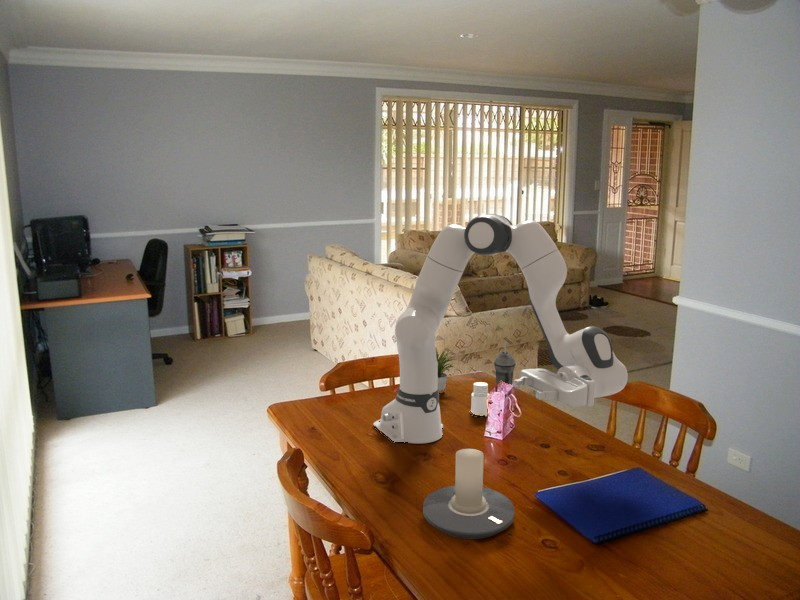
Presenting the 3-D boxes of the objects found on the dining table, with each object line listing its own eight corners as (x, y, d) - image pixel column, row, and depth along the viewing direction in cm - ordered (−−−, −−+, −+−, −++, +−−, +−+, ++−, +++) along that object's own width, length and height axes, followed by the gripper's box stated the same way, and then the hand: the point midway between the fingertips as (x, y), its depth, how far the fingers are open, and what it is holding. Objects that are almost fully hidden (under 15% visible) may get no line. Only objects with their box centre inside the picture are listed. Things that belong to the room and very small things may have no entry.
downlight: (492, 418, 205) (493, 387, 204) (470, 418, 205) (470, 387, 204) (489, 410, 213) (490, 380, 212) (468, 410, 213) (468, 380, 212)
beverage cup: (513, 392, 229) (515, 337, 226) (515, 399, 222) (517, 342, 219) (492, 392, 230) (494, 337, 227) (493, 398, 223) (495, 342, 219)
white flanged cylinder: (444, 504, 144) (444, 453, 142) (468, 493, 149) (469, 444, 146) (468, 517, 138) (469, 464, 136) (493, 506, 143) (494, 455, 140)
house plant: (444, 402, 220) (445, 355, 217) (409, 395, 227) (410, 349, 224) (463, 390, 232) (464, 346, 229) (429, 384, 239) (430, 341, 236)
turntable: (404, 509, 145) (404, 502, 145) (468, 483, 157) (468, 476, 157) (468, 547, 130) (468, 540, 129) (533, 515, 142) (533, 508, 142)
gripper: (546, 360, 172) (502, 365, 167) (599, 383, 154) (552, 389, 148) (545, 383, 174) (501, 389, 168) (597, 408, 155) (550, 415, 150)
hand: (525, 389), depth 158 cm, fingers open, 8 cm apart
